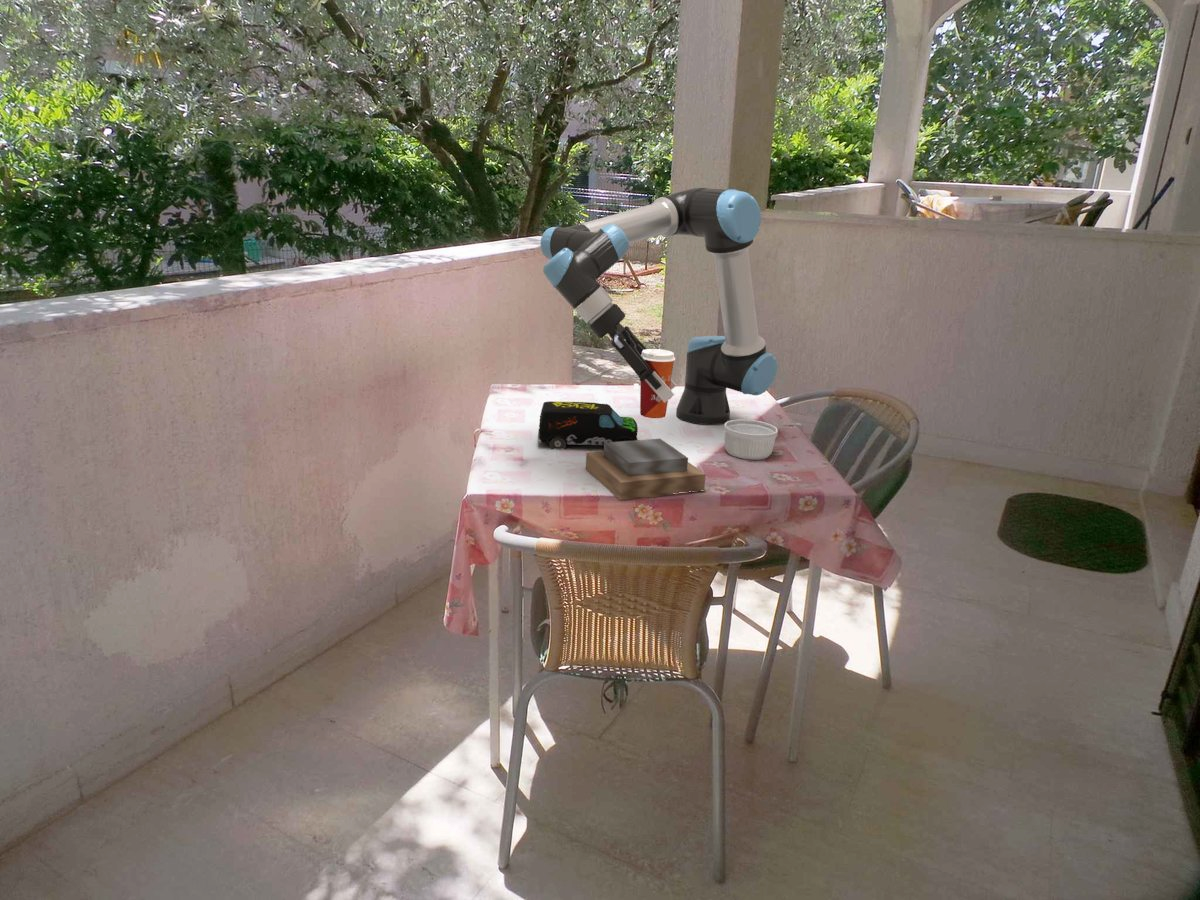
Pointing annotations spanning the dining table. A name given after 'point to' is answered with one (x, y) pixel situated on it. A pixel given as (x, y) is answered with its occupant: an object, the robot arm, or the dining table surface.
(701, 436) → the dining table surface
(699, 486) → the two-tone square platform
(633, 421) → the toy van
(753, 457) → the ramekin
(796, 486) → the dining table surface
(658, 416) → the paper cup
